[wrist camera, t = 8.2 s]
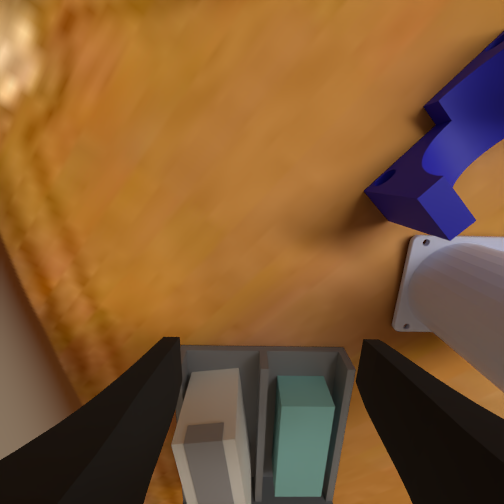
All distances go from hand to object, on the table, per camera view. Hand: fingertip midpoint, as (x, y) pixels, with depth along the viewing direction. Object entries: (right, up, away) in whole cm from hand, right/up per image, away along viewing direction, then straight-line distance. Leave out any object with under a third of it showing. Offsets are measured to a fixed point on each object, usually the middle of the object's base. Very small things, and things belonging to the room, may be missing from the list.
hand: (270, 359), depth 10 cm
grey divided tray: (0, -11, +14) cm, 18 cm away
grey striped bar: (-3, -10, +13) cm, 17 cm away
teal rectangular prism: (+3, -11, +13) cm, 18 cm away
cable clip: (+12, +12, +7) cm, 18 cm away
